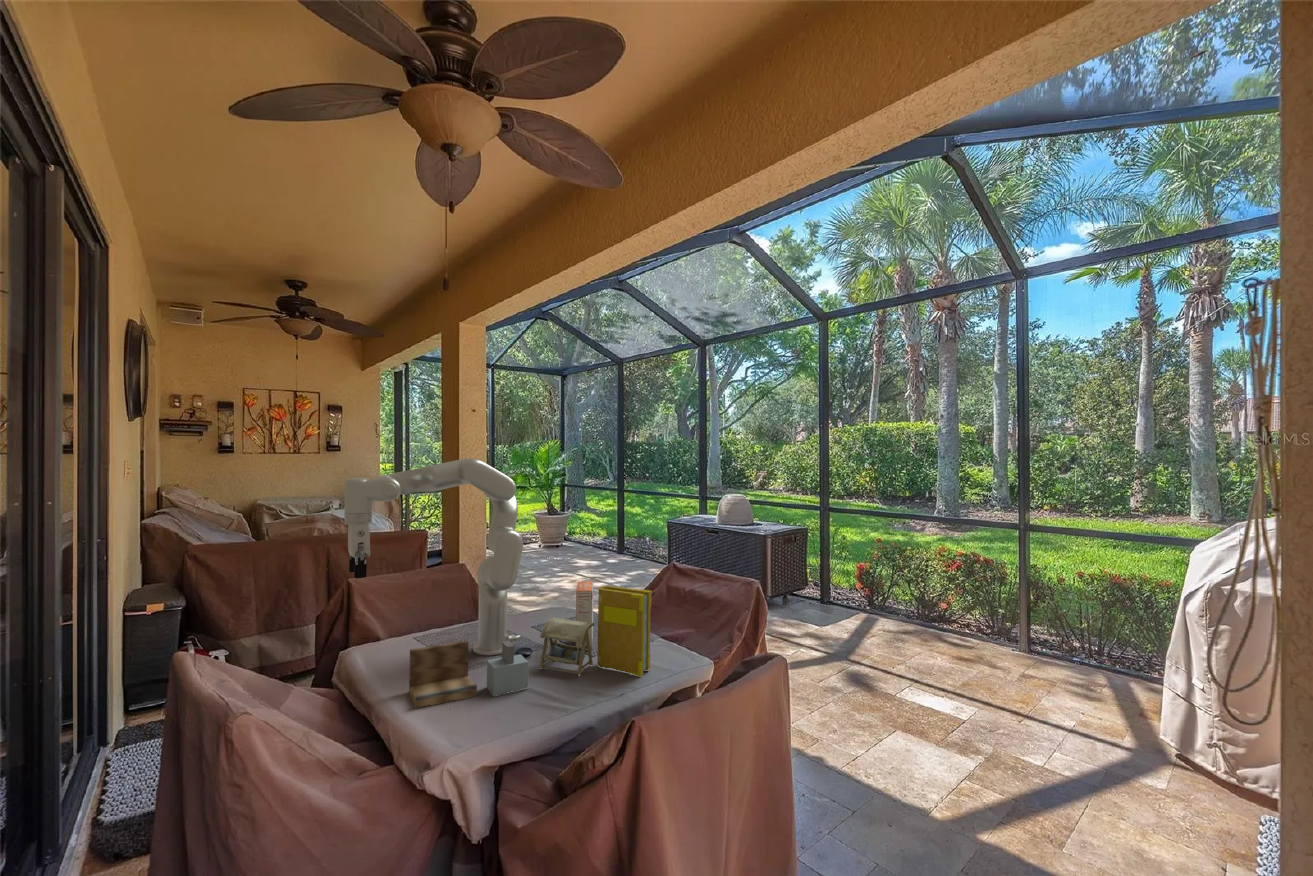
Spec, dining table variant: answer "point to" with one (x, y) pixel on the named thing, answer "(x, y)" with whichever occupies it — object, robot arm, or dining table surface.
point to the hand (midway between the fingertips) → (357, 574)
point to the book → (624, 629)
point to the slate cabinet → (507, 671)
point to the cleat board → (440, 674)
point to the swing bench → (566, 653)
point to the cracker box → (585, 606)
